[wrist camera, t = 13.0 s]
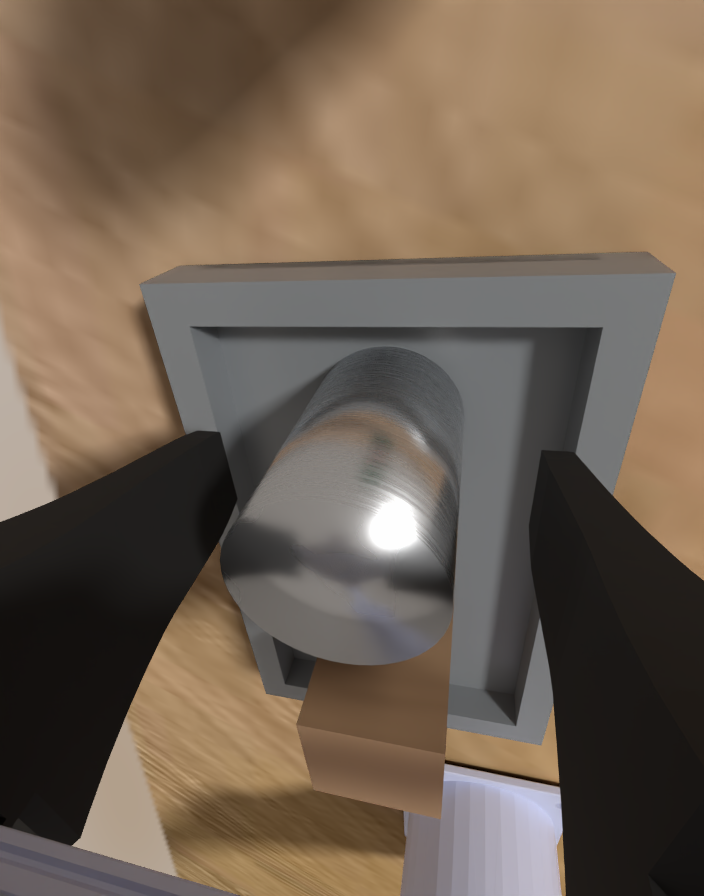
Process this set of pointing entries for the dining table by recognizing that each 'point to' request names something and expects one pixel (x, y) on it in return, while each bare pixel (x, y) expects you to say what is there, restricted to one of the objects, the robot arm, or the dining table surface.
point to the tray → (484, 400)
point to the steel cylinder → (357, 516)
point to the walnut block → (380, 729)
